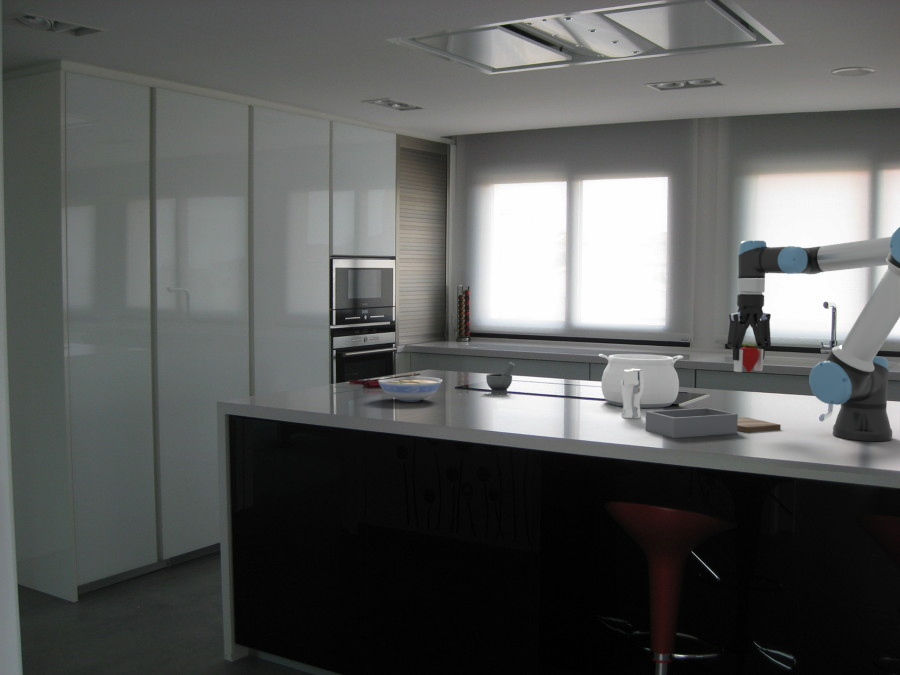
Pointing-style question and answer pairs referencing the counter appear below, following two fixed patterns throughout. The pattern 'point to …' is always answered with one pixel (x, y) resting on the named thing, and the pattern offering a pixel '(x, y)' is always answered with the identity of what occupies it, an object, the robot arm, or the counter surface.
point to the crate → (691, 422)
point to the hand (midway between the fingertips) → (748, 371)
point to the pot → (656, 378)
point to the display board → (755, 425)
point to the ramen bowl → (409, 386)
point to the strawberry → (749, 356)
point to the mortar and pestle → (500, 380)
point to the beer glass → (631, 392)
